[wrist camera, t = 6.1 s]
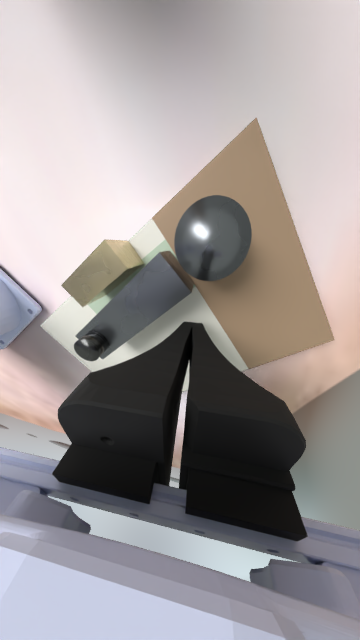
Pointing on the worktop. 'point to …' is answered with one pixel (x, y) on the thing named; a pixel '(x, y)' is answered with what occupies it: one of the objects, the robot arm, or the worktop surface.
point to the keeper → (102, 271)
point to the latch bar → (172, 274)
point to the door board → (234, 290)
